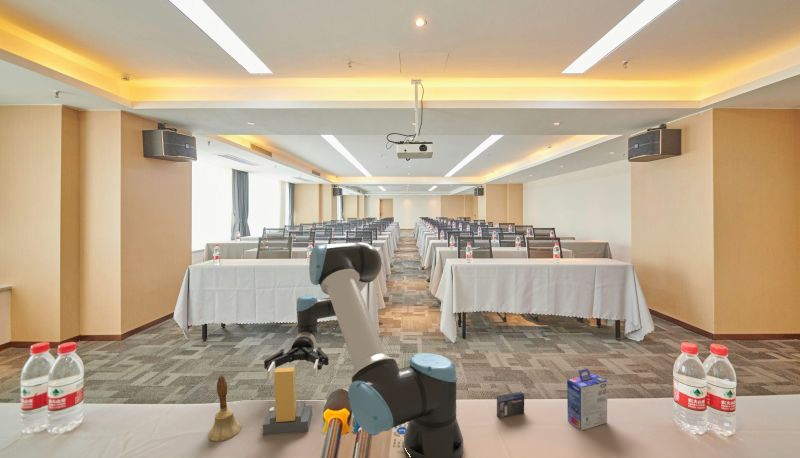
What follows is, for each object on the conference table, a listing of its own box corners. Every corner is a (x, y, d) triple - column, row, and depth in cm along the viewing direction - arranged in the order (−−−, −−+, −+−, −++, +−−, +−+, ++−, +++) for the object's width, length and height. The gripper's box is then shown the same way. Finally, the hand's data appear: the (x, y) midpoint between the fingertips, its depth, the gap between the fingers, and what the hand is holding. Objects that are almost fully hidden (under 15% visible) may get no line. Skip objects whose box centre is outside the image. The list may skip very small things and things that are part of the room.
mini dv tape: (499, 418, 103) (499, 398, 103) (496, 415, 105) (496, 396, 104) (524, 413, 106) (524, 394, 105) (521, 410, 107) (521, 391, 107)
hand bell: (228, 443, 94) (225, 384, 93) (201, 439, 96) (197, 382, 95) (247, 424, 102) (245, 370, 101) (222, 421, 104) (219, 367, 103)
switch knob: (296, 415, 101) (294, 367, 99) (294, 420, 98) (293, 371, 97) (278, 416, 100) (276, 368, 99) (276, 422, 98) (274, 372, 97)
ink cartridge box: (591, 412, 106) (592, 364, 105) (608, 423, 100) (609, 373, 99) (565, 419, 102) (566, 370, 101) (581, 431, 97) (582, 379, 96)
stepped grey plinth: (312, 414, 106) (311, 400, 106) (308, 431, 98) (307, 416, 98) (270, 417, 105) (270, 402, 105) (263, 435, 97) (262, 419, 97)
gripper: (338, 354, 130) (334, 383, 109) (268, 358, 128) (249, 388, 107) (338, 334, 130) (333, 359, 109) (267, 337, 127) (248, 364, 106)
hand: (291, 374), depth 108 cm, fingers open, 13 cm apart
